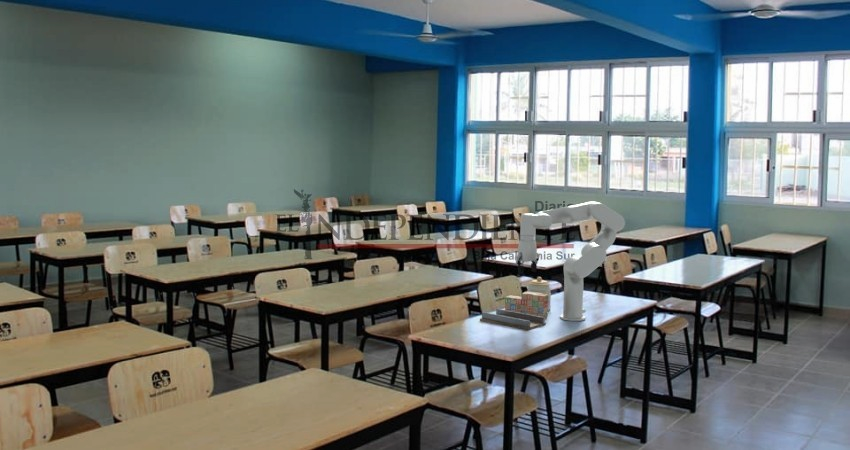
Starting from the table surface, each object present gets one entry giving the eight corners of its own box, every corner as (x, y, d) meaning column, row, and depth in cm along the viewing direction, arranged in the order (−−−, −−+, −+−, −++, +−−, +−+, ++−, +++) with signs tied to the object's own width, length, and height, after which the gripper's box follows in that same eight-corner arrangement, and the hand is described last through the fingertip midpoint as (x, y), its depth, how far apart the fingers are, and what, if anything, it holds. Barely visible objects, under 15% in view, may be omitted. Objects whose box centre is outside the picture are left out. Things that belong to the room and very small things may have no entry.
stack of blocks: (504, 314, 391) (505, 291, 390) (509, 312, 396) (510, 289, 395) (543, 319, 380) (544, 295, 379) (547, 317, 385) (548, 293, 384)
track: (498, 315, 387) (499, 308, 386) (545, 324, 368) (545, 316, 368) (479, 320, 375) (480, 312, 374) (527, 330, 356) (527, 321, 356)
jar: (551, 307, 410) (552, 275, 408) (549, 312, 397) (550, 279, 396) (527, 306, 413) (528, 274, 411) (524, 310, 400) (525, 277, 399)
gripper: (533, 236, 385) (533, 269, 386) (510, 238, 373) (509, 273, 375) (545, 237, 379) (544, 271, 381) (521, 240, 368) (521, 275, 369)
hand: (527, 272), depth 378 cm, fingers open, 9 cm apart
